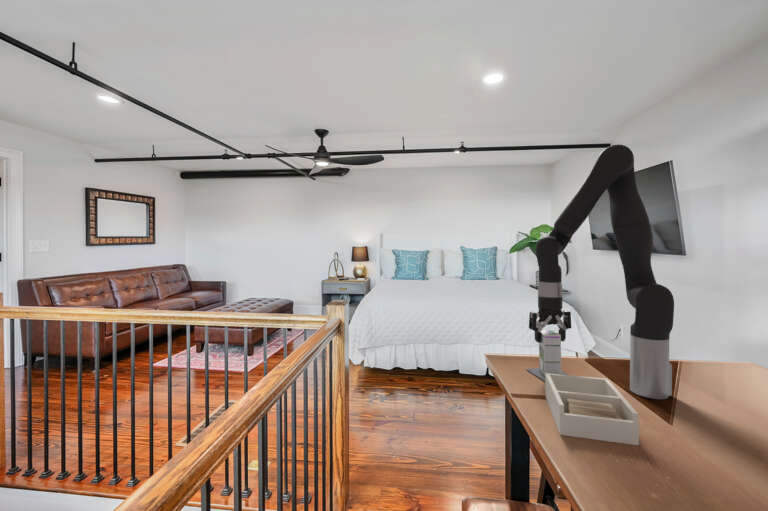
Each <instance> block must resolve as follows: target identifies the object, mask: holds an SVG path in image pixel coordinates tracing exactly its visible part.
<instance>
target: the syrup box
mask: <svg viewBox="0 0 768 511" xmlns="http://www.w3.org/2000/svg"><path fill="white" fill-rule="evenodd" d="M541 332H542V342H541V343H538V355H539V358H538V360H539V362H538V364H539V367H538V368H539V369H540V371H541V373H542V374H543V375H544V376H545V373H549V374H560V375H561V371H562V344H561V343H562V341H561V335H560V334H559V332H558V331H556V330H552V329H551V330H550V329H544V330H543V329H542V330H541Z"/></svg>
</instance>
